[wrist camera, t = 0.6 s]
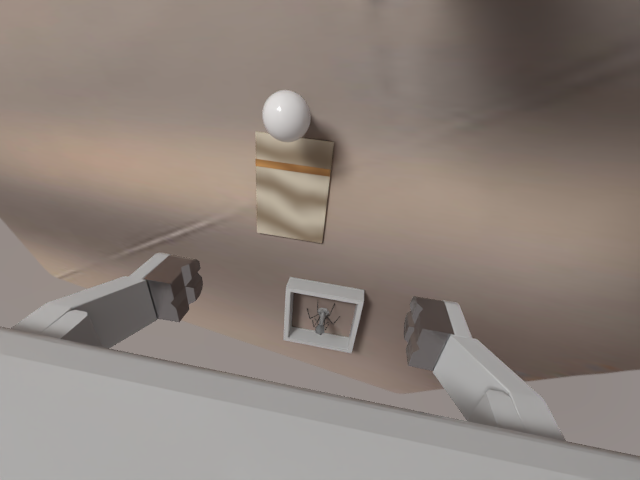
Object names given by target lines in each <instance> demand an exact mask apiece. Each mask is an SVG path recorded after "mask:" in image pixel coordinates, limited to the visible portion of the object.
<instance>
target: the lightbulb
mask: <svg viewBox="0 0 640 480" xmlns="http://www.w3.org/2000/svg"><path fill="white" fill-rule="evenodd" d="M262 118H263V123H264V126H265V128H266V130H267V131H268V133H269V134H270V135H271V136H272V137H273V138H275V139H277V140H279V141H282V142H294V141H296V140H298V139H300V138H301V137H303V136H304V135H305V133H306V132H307V130H308V128H309V126H310V121H311V114H310V109H309V106H308V104H307V102H306V101H305V99H304V98H303V97H302V96H301V95H299V94H298V93H296V92H294V91H290V90H281V91H277V92H275V93H273V94H272V95H271V96H270V97H269V98H268V99H267V100H266V102H265V104H264V107H263V112H262Z"/></svg>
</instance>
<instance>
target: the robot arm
mask: <svg viewBox="0 0 640 480" xmlns="http://www.w3.org/2000/svg"><path fill="white" fill-rule="evenodd" d="M199 270H200V263H199V261H198V260H197V259H193V258H187V257H182V256H177V255H171V254H166V253H156V254H155V255H154V256H153V257H152V258H150V259H149V260H148V261H147V262H146V263H144V264H143V265H142V266H141V267H140V268H138V269H137V270H136V271H135V272H134V273H132V274H131V275H130V276H129V277H126V276H124V277H121V278H118V279H115V280H112V281H109V282H106V283H103V284H100V285H97V286H95V287H92V288H89V289H86V290H83V291H80V292H77V293H74V294H71V295H69V296H66V297H63V298H60V299H57V300H54V301H51V302H48V303H46V304H44V305H43V306H42V307H40V308H39V309H37V310H36V311H35V312H33V313H32V314H30V315H29V316H27V317H26V318H25V319H23V320H22V321H20V322H19V323H18V324H16V325H15V326H13V327H12V328H11V329H10V328H5V327H0V480H640V456H636V455H631V454H626V453H621V452H616V451H611V450H606V449H601V448H596V447H591V446H586V445H582V444H576V443H572V442H567V441H566V440H565V439H564V436H563V435H562V433H561V431H560V429H559V427H558V425H557V423H556V421H555V420H554V418H553V416H552V414H551V412H550V410H549V408H548V406H547V404H546V402H545V400H544V399H543V398H542V397H541V396H540V395H539V394H538V393H537V392H535V391H534V390H533V389H532V388H531V387H530V386H529V385H528V384H526V383H525V382H524V381H523V380H522V379H521V378H520V377H519V376H518V375H516V374H515V373H514V372H513V371H512V370H511V369H510V368H509V367H507V366H506V365H505V364H504V363H503V362H502V361H501V360H500V359H499V358H497V357H496V356H495V355H494V354H493V353H492V352H491V351H490V350H488V349H487V348H486V347H485V346H484V345H483V344H482V343H481V342H480V341H478V340H477V339H474V338H472V336H471V333H470V331H469V328H468V326H467V323H466V321H465V318H464V316H463V313H462V310H461V308H460V305H459V304H458V303H457V302H450V301H443V300H442V301H441V300H435V299H429V298H423V297H417V296H414V297H413V298H412V300H411V303H410V307H411V311H410V312H408V313H407V315H406V318H405V323H404V339H405V340H406V341H407V342H408V345H407V347H406V355H407V362H408V366H412V367H417V368H421V369H426V370H431V371H433V373H434V375H435V376H436V377H437V379H438V380H439V382H440V383H441V384H442V386H443V387H444V389H445V390H446V391H447V393H448V394H449V396H450V397H451V398H452V400H453V401H454V403H455V404H456V406H457V407H458V408H459V410H460V411H461V413H462V414H463V416H464V417H465V418H466V420H467V421H463V420H458V419H453V418H449V417H443V416H438V415H434V414H429V413H424V412H419V411H414V410H409V409H404V408H399V407H394V406H390V405H385V404H380V403H375V402H370V401H365V400H359V399H355V398H349V397H345V396H340V395H335V394H330V393H325V392H321V391H315V390H311V389H306V388H301V387H295V386H291V385H286V384H281V383H276V382H271V381H266V380H261V379H256V378H252V377H247V376H242V375H236V374H232V373H227V372H222V371H217V370H212V369H207V368H202V367H197V366H192V365H187V364H182V363H178V362H172V361H167V360H162V359H158V358H153V357H148V356H143V355H138V354H133V353H128V352H123V351H118V350H113V349H109V348H111V347H112V346H114V345H116V344H117V343H119V342H121V341H122V340H124V339H126V338H127V337H129V336H131V335H133V334H134V333H136V332H138V331H139V330H141V329H142V328H144V327H146V326H148V325H149V324H151V323H152V322H154V321H156V320H157V319H163V320H170V321H175V322H180V321H181V319H182V318H183V317H184V315H185V314H186V313H187V312H188V310H189V304H190V303H192V302H195V301H196V300H197V298H198V297H199V296H200V293H201V290H202V286H203V281H202V277H201V276H200V275H199V273H198V271H199Z"/></svg>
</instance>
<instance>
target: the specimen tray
mask: <svg viewBox="0 0 640 480" xmlns="http://www.w3.org/2000/svg"><path fill="white" fill-rule="evenodd" d="M294 293H299V294H305V295H310V296H316V297H321V298H327V299H332V300H338V301H343V302H349V303H354V304H356V308H355V312H354V317H353V321H352V326H351V330H350V335H349V337H344V336H339V335H334V334H328V333H323V334H322V335H319V334H316V333H315V331H313V330H307V329H302V328H297V327H292V310H293V295H294ZM363 303H364V290H361V289H356V288H350V287H344V286H339V285H333V284H327V283H322V282H316V281H310V280H305V279H299V278H293V277H290V279H289V281H288V284H287V286H286V298H285V319H284V340H286V341H291V342H296V343H301V344H307V345H312V346H317V347H322V348H327V349H332V350H337V351H342V352H347V353H352V349H353V345H354V341H355V337H356V333H357V328H358V324H359V320H360V316H361V311H362V307H363Z"/></svg>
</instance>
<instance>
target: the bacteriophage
mask: <svg viewBox="0 0 640 480" xmlns="http://www.w3.org/2000/svg"><path fill="white" fill-rule="evenodd" d="M334 305H335V304H334ZM333 307H334V306H333ZM332 309H333V308H332ZM307 311H308V309H307ZM331 312H332V310H331ZM317 313H319V314H318V315H319V319H320V322H319V325H318V326H317V327H315V326H314V324H313V326H314V327H315V333H316V334H319V335H322V334H323V333H324V325H325V320H324V317H326V316H327V315H328V314H329V312H328V310H327V309H326V308H325V309H324V308H320V309H319V310H318V304H317ZM308 314H309V313H308ZM330 314H331V313H330ZM316 316H317V315H316ZM328 316H330V315H328ZM314 317H315V316H314ZM339 317H340V316H339ZM309 318H310V316H309ZM312 318H313V317H312ZM327 318H328V317H327ZM310 319H311V318H310ZM319 319H318V320H319ZM325 319H326V318H325ZM328 319H329V318H328ZM315 320H316V319H315ZM329 320H330V319H329ZM337 320H338V319H337ZM337 320H336V321H337ZM312 321H313V320H312ZM336 321H335V322H336ZM323 322H324V325H323ZM330 322H331V321H330ZM335 322H334V323H335ZM317 323H318V321H317ZM327 323H328V322H327ZM327 323H326V324H327ZM331 323H332V322H331ZM332 324H333V323H332ZM315 325H316V324H315ZM322 325H323V326H322ZM328 325H329V324H328ZM327 327H328V326H327ZM327 327H326V328H327ZM325 330H326V329H325Z"/></svg>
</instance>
